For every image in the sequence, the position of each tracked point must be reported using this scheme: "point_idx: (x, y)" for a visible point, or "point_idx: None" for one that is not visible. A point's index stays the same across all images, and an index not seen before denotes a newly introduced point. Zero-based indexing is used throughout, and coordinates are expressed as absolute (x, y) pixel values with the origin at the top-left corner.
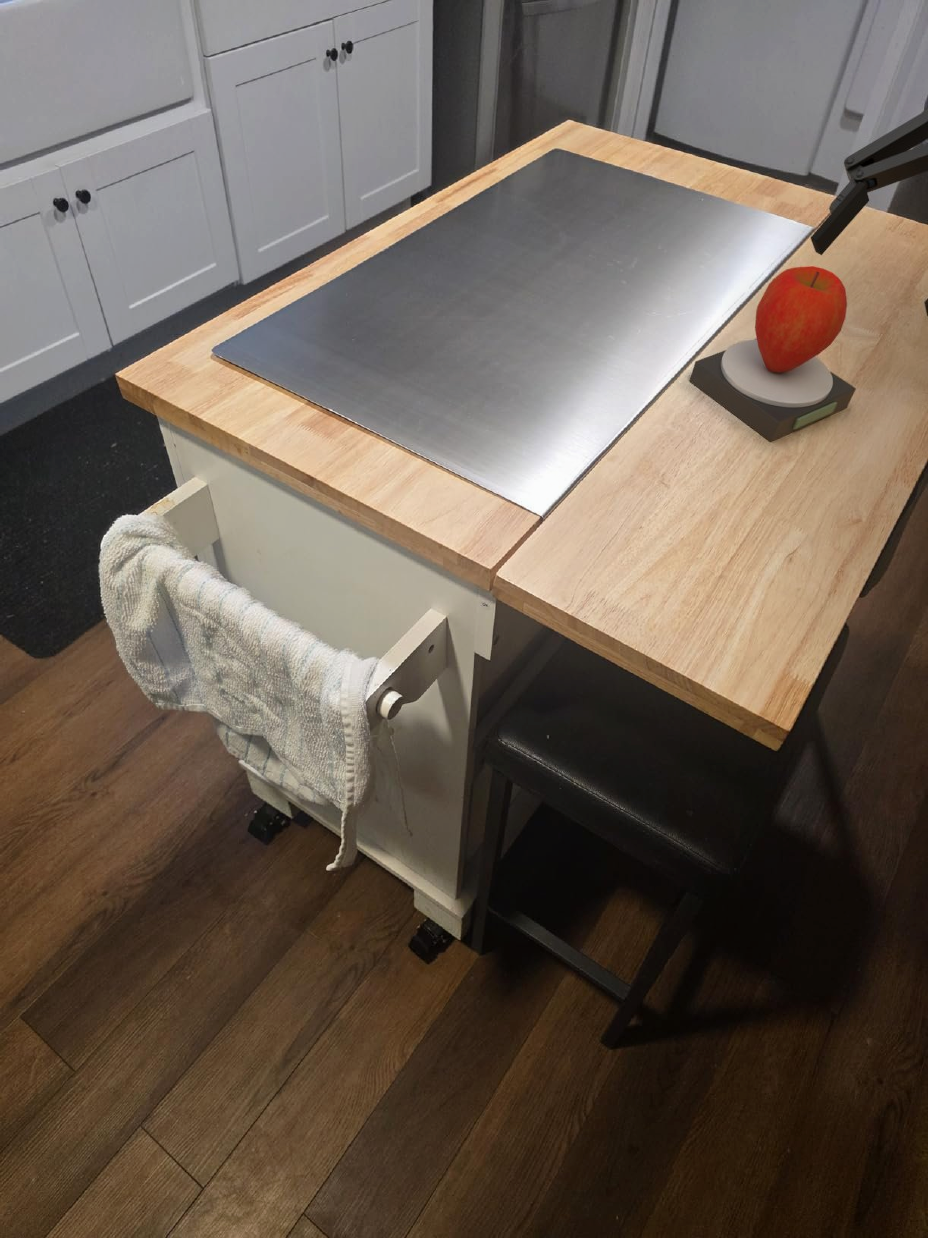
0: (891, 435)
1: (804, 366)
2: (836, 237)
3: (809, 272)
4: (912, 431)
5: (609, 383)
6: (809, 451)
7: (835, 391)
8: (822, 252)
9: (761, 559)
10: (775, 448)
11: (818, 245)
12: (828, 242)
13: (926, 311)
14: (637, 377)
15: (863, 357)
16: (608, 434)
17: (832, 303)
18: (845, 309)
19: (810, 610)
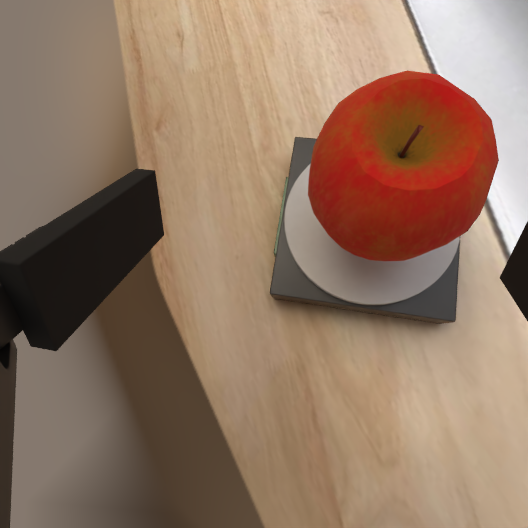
0: (201, 293)
1: (349, 260)
2: (524, 312)
3: (447, 162)
4: (185, 326)
5: (508, 80)
6: (254, 179)
7: (285, 260)
8: (503, 276)
9: (197, 15)
10: (285, 150)
11: (521, 237)
12: (519, 280)
13: (160, 213)
14: (498, 118)
15: (331, 454)
16: (425, 17)
17: (334, 125)
18: (320, 186)
19: (136, 6)
